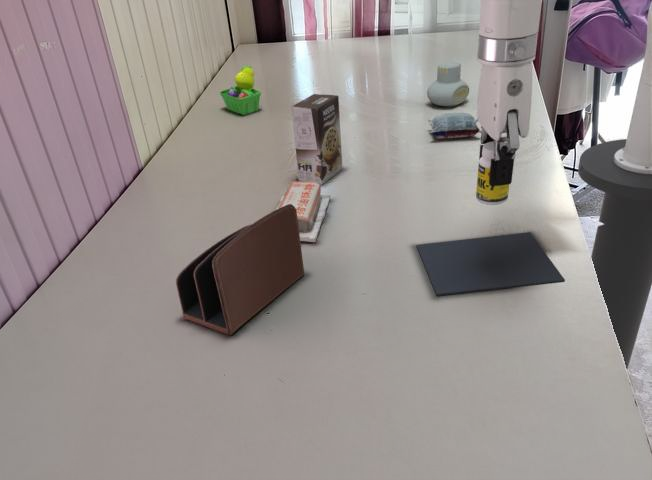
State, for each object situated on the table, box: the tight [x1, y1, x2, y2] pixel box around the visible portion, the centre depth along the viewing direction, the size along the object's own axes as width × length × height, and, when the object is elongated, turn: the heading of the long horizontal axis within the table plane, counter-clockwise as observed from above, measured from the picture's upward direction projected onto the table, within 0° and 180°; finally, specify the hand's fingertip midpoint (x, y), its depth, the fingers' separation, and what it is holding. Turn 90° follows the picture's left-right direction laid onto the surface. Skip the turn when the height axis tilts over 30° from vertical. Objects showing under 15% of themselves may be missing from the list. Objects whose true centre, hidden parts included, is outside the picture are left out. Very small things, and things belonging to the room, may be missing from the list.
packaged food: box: [427, 112, 482, 140], centre depth 150 cm, size 9×12×5 cm
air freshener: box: [426, 60, 470, 108], centre depth 167 cm, size 11×8×10 cm
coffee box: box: [291, 93, 343, 186], centre depth 135 cm, size 9×6×16 cm
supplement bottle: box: [475, 142, 510, 206], centre depth 96 cm, size 5×5×8 cm
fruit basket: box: [219, 65, 262, 116], centre depth 179 cm, size 11×9×11 cm
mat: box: [416, 231, 566, 297], centre depth 105 cm, size 20×16×1 cm
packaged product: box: [275, 180, 331, 243], centre depth 122 cm, size 18×5×10 cm
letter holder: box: [175, 204, 305, 336], centre depth 100 cm, size 10×20×14 cm, turn 145°
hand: (494, 175), depth 96 cm, fingers closed on supplement bottle, 4 cm apart
